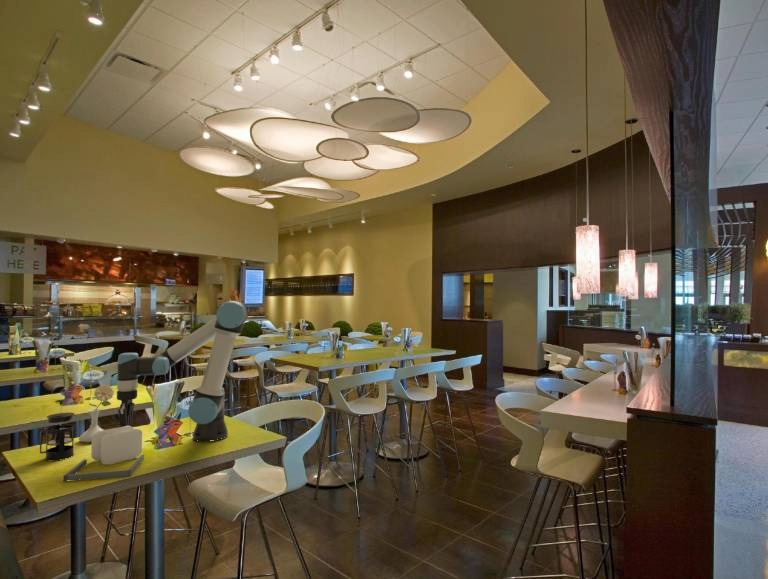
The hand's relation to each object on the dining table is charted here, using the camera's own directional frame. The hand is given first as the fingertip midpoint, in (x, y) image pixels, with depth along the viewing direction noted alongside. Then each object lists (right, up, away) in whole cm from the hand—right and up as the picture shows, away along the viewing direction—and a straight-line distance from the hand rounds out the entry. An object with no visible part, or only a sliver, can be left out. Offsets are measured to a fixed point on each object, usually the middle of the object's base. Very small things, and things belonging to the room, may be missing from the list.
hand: (125, 445), depth 186 cm
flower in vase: (-22, -3, +15) cm, 27 cm away
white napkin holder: (+3, -2, -11) cm, 11 cm away
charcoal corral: (+6, -1, -22) cm, 22 cm away
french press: (-22, -2, -8) cm, 24 cm away
